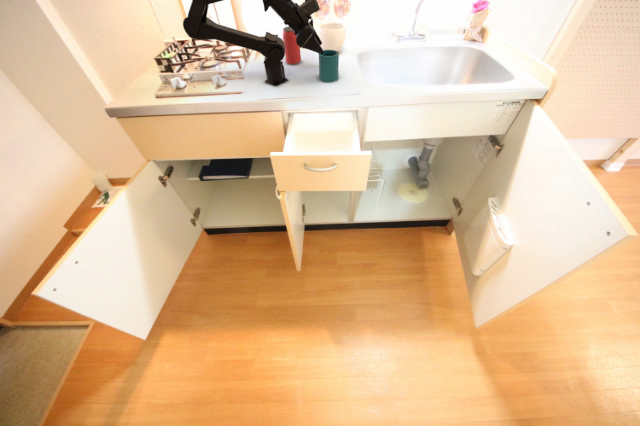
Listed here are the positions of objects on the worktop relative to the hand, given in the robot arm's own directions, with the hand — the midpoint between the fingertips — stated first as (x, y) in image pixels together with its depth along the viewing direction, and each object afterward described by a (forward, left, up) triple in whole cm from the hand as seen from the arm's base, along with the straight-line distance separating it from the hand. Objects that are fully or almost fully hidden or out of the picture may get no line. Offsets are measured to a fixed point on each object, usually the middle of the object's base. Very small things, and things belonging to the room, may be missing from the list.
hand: (322, 48), depth 84 cm
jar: (+2, -2, -10) cm, 10 cm away
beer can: (+6, +21, -10) cm, 24 cm away
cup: (+25, +15, -10) cm, 31 cm away
